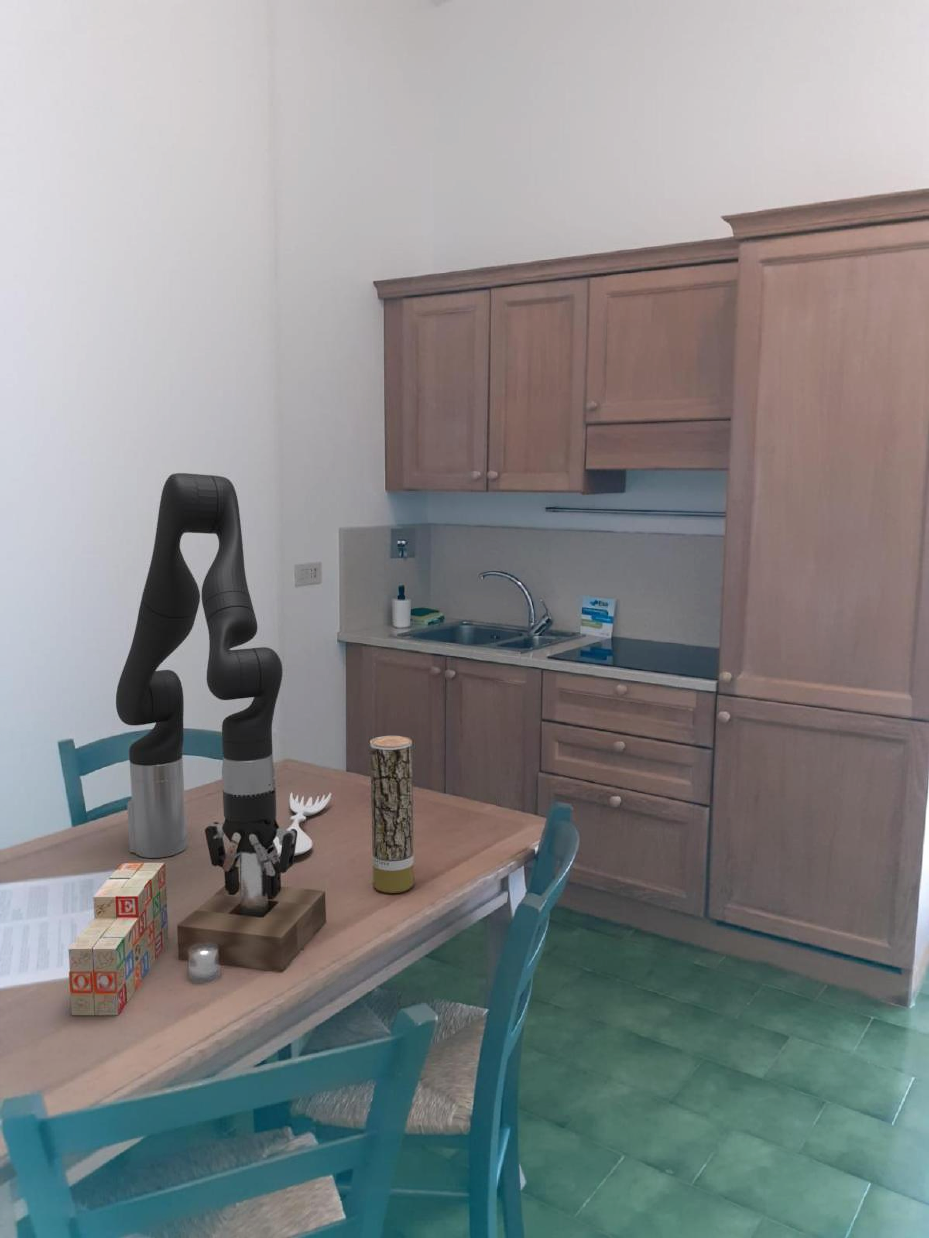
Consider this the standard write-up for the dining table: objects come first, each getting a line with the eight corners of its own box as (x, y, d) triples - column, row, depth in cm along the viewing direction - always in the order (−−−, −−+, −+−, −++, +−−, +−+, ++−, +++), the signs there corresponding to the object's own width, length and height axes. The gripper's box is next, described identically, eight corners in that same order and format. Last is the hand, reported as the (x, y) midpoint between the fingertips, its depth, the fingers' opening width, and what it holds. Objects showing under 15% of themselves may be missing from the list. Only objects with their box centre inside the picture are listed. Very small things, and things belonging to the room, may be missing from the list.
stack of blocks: (119, 1017, 128) (114, 926, 126) (70, 1017, 128) (64, 926, 126) (169, 939, 149) (165, 860, 147) (127, 939, 149) (122, 860, 147)
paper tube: (398, 898, 162) (395, 748, 159) (364, 889, 166) (361, 743, 162) (421, 883, 168) (419, 739, 164) (389, 875, 172) (386, 733, 168)
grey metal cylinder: (184, 981, 136) (182, 953, 136) (198, 967, 140) (197, 940, 140) (210, 984, 135) (209, 957, 135) (224, 970, 139) (223, 943, 139)
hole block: (178, 958, 143) (177, 925, 142) (231, 911, 158) (230, 881, 157) (282, 971, 139) (281, 937, 138) (326, 921, 154) (325, 890, 153)
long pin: (236, 943, 147) (234, 852, 145) (248, 931, 151) (247, 842, 149) (261, 946, 146) (260, 855, 144) (273, 934, 150) (272, 845, 148)
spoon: (333, 806, 208) (332, 790, 208) (307, 866, 176) (306, 847, 176) (290, 806, 208) (289, 790, 208) (256, 866, 177) (255, 847, 176)
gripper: (191, 789, 143) (196, 900, 145) (284, 796, 139) (288, 910, 142) (216, 773, 150) (221, 880, 153) (305, 780, 147) (308, 889, 149)
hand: (253, 894), depth 147 cm, fingers open, 5 cm apart
